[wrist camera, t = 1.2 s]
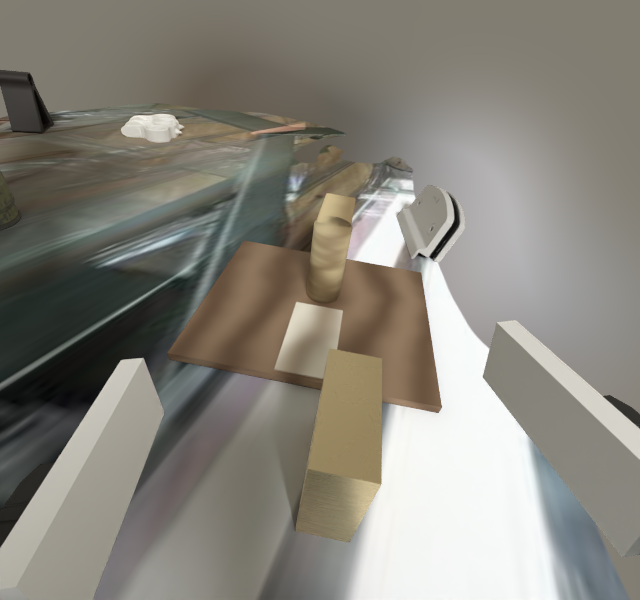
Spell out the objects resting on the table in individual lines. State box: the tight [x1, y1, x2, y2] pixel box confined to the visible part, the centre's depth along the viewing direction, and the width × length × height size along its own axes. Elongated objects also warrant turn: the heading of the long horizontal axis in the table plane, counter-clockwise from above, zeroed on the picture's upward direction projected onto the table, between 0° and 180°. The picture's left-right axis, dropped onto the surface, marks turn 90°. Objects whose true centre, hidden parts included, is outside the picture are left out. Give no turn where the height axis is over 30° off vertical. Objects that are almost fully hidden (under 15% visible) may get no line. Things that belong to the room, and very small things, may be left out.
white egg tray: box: [121, 114, 184, 142], centre depth 93 cm, size 3×18×15 cm
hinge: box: [397, 185, 465, 262], centre depth 61 cm, size 17×5×10 cm, turn 178°
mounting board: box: [168, 193, 442, 413], centre depth 40 cm, size 28×24×11 cm
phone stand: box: [0, 70, 54, 133], centre depth 81 cm, size 9×6×12 cm, turn 14°
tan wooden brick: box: [295, 348, 382, 542], centre depth 25 cm, size 4×9×10 cm, turn 171°
